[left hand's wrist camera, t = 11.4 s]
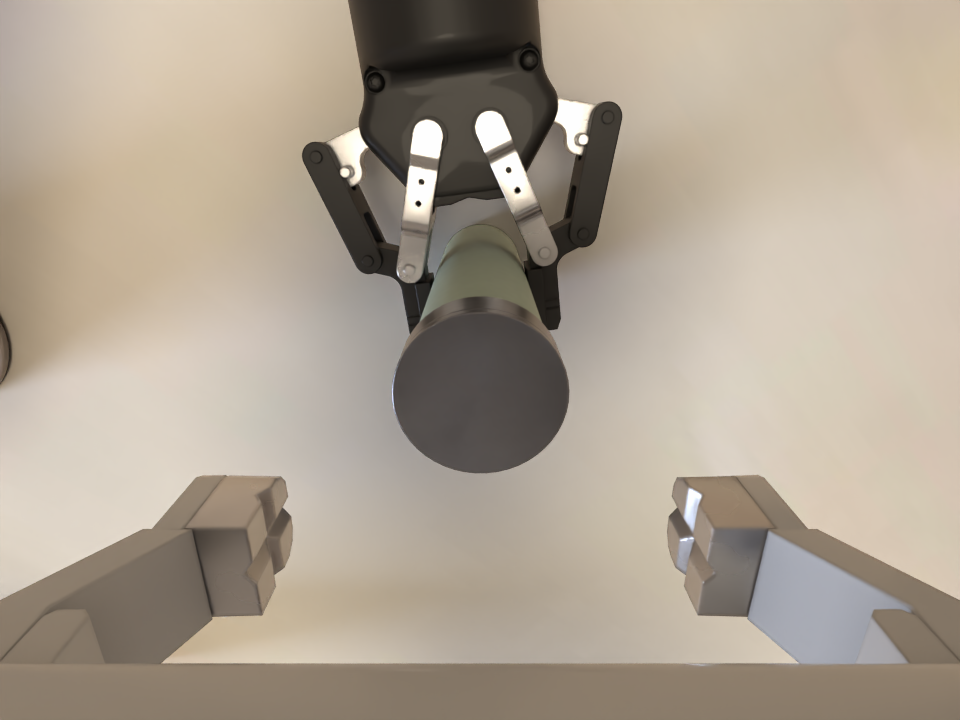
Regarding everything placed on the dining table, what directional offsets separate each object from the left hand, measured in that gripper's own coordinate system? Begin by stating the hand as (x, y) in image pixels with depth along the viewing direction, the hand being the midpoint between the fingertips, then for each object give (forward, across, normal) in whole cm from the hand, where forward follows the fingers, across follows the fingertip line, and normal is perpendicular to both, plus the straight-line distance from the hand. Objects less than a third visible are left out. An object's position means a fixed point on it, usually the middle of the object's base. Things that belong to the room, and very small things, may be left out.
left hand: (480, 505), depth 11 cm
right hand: (+17, 0, -3) cm, 17 cm away
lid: (+5, 0, 0) cm, 5 cm away
